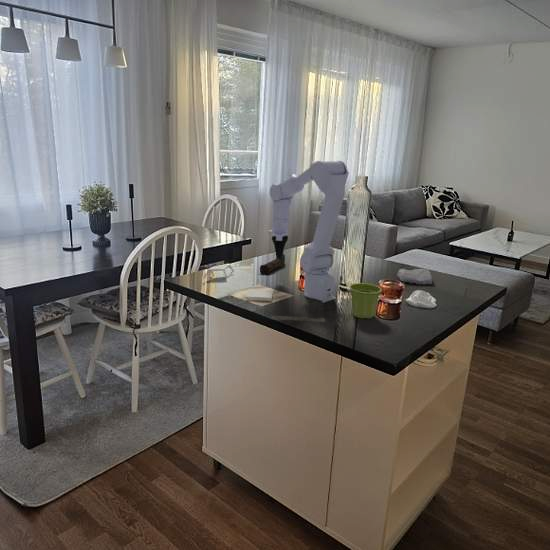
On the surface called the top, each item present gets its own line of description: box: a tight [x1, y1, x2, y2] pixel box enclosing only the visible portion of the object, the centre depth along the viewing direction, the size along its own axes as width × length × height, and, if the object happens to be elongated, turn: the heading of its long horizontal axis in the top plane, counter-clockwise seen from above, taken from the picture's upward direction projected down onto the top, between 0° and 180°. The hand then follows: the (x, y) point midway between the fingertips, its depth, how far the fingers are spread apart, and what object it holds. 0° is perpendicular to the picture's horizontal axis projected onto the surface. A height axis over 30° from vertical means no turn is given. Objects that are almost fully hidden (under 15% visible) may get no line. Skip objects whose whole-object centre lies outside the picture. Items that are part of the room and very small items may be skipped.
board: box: [226, 284, 294, 307], centre depth 156 cm, size 16×15×1 cm
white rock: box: [405, 289, 437, 309], centre depth 155 cm, size 10×4×10 cm
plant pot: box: [348, 282, 383, 319], centre depth 143 cm, size 9×9×9 cm
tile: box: [246, 289, 273, 301], centre depth 154 cm, size 8×1×8 cm
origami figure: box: [203, 264, 235, 280], centre depth 174 cm, size 12×8×5 cm
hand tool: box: [259, 253, 286, 275], centre depth 190 cm, size 19×4×5 cm, turn 152°
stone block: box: [396, 268, 433, 286], centre depth 180 cm, size 12×5×10 cm
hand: (279, 256), depth 172 cm, fingers closed
